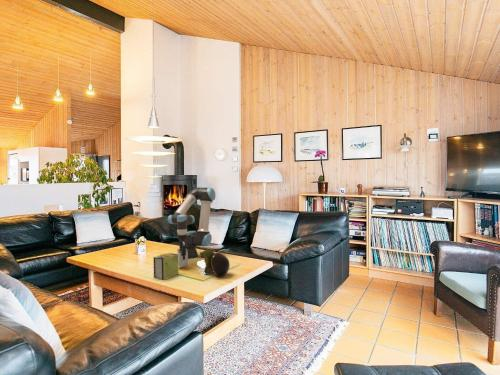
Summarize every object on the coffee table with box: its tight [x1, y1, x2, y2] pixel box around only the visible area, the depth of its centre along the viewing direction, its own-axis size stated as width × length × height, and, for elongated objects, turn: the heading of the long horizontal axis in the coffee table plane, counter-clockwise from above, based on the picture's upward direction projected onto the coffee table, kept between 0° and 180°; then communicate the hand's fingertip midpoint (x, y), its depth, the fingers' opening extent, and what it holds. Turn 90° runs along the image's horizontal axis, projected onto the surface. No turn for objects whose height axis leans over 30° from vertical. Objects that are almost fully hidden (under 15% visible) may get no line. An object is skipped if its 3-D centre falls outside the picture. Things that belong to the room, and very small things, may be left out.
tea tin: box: [176, 248, 189, 267], centre depth 251 cm, size 7×7×12 cm
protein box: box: [153, 252, 179, 281], centre depth 231 cm, size 10×15×16 cm
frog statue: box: [199, 249, 231, 278], centre depth 234 cm, size 19×16×25 cm
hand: (182, 262), depth 251 cm, fingers closed on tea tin, 7 cm apart
